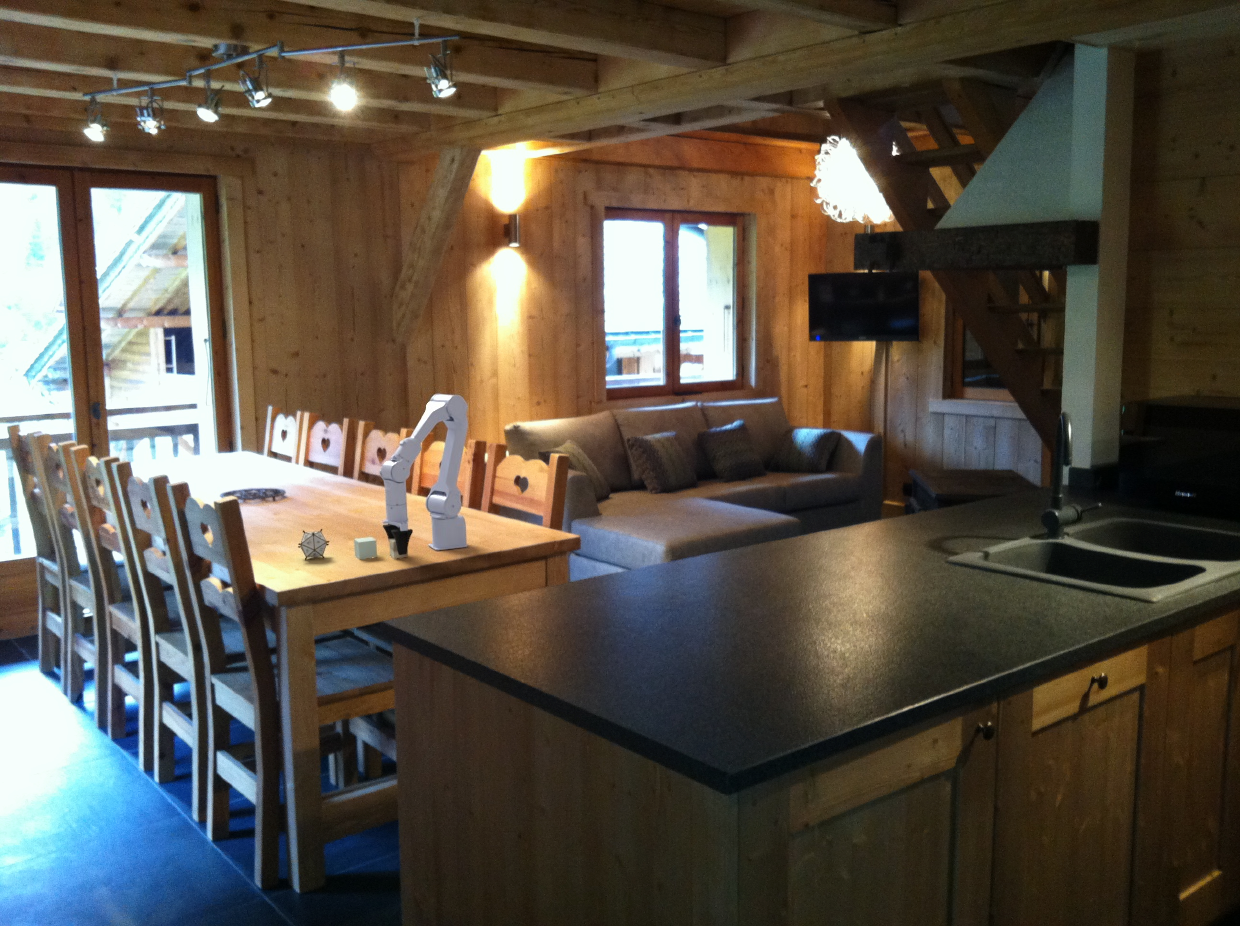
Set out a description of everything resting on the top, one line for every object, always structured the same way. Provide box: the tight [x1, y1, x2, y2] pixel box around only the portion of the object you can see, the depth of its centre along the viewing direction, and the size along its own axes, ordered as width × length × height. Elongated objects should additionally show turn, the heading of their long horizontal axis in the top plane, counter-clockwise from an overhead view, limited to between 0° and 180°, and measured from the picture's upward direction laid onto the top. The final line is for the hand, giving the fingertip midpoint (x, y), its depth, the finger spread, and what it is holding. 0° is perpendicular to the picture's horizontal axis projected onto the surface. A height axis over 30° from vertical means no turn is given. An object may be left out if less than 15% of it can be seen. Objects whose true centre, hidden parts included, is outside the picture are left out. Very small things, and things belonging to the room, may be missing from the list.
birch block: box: [388, 538, 409, 560], centre depth 302 cm, size 4×4×5 cm
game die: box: [297, 528, 330, 561], centre depth 302 cm, size 9×8×10 cm
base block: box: [353, 536, 378, 560], centre depth 303 cm, size 5×5×5 cm
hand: (398, 551), depth 302 cm, fingers open, 7 cm apart
